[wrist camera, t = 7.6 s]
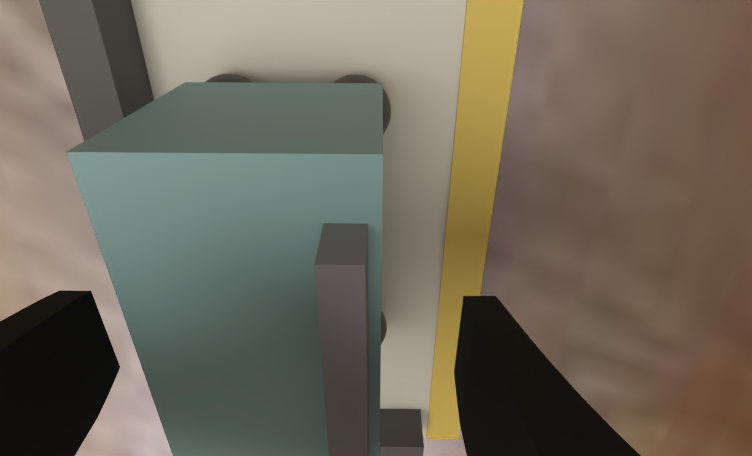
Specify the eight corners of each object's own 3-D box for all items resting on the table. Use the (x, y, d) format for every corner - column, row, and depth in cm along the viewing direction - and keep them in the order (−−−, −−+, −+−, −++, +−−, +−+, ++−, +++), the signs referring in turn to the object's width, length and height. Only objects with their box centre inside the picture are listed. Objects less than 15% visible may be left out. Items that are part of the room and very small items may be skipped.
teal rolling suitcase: (391, 67, 11) (402, 188, 5) (386, 329, 15) (388, 564, 9) (201, 66, 11) (-8, 185, 5) (248, 327, 15) (162, 561, 9)
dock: (516, -170, 10) (584, -237, 7) (449, 383, 19) (464, 475, 16) (79, -171, 10) (-71, -238, 7) (214, 380, 19) (177, 471, 16)
